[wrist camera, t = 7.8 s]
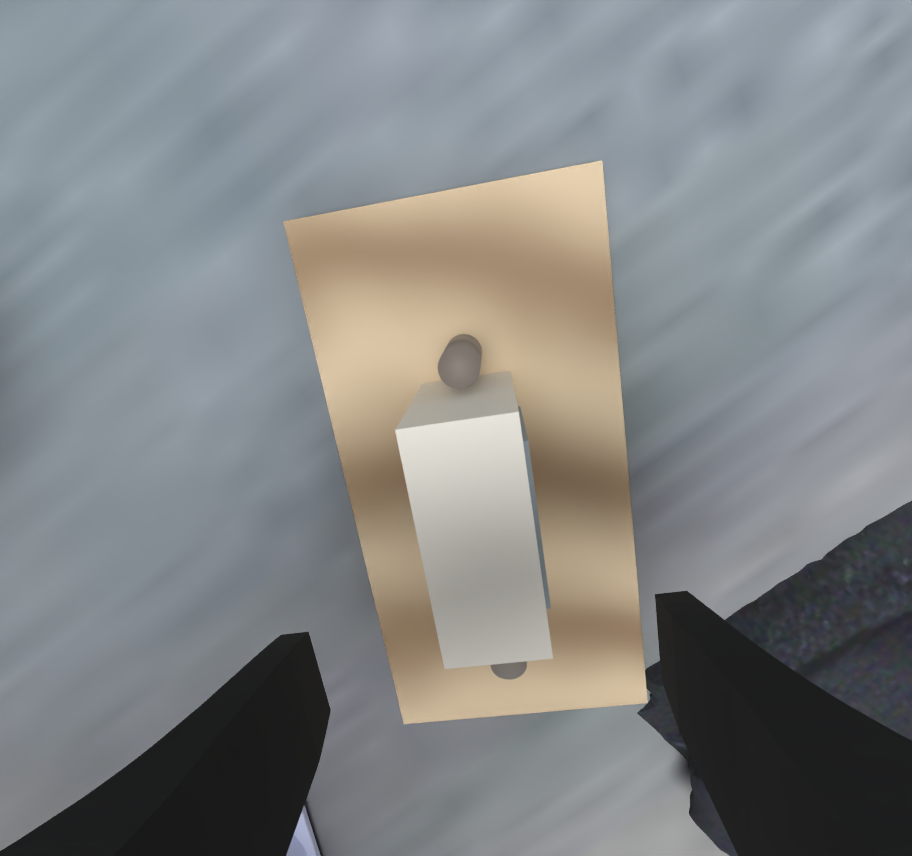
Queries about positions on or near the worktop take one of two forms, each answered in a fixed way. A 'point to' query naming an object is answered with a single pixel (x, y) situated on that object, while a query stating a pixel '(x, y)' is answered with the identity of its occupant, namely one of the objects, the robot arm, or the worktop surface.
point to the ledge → (537, 393)
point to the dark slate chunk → (826, 639)
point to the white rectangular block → (477, 521)
